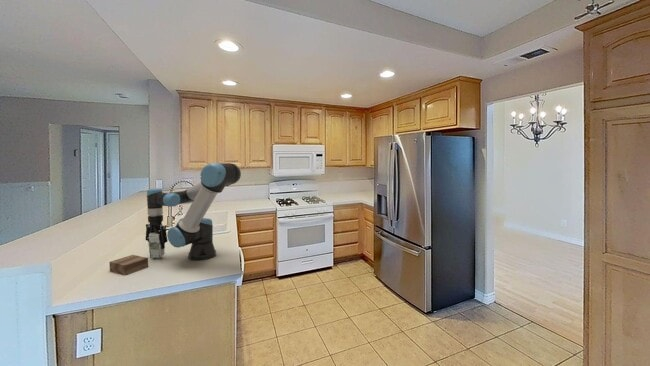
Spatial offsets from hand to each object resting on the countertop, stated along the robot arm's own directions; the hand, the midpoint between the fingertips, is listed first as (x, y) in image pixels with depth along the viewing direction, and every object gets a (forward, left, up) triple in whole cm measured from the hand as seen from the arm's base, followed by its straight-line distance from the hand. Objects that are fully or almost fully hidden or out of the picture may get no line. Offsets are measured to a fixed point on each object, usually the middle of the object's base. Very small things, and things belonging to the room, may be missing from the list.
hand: (156, 253), depth 163 cm
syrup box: (0, 0, -2) cm, 2 cm away
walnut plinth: (-2, +17, -3) cm, 17 cm away
